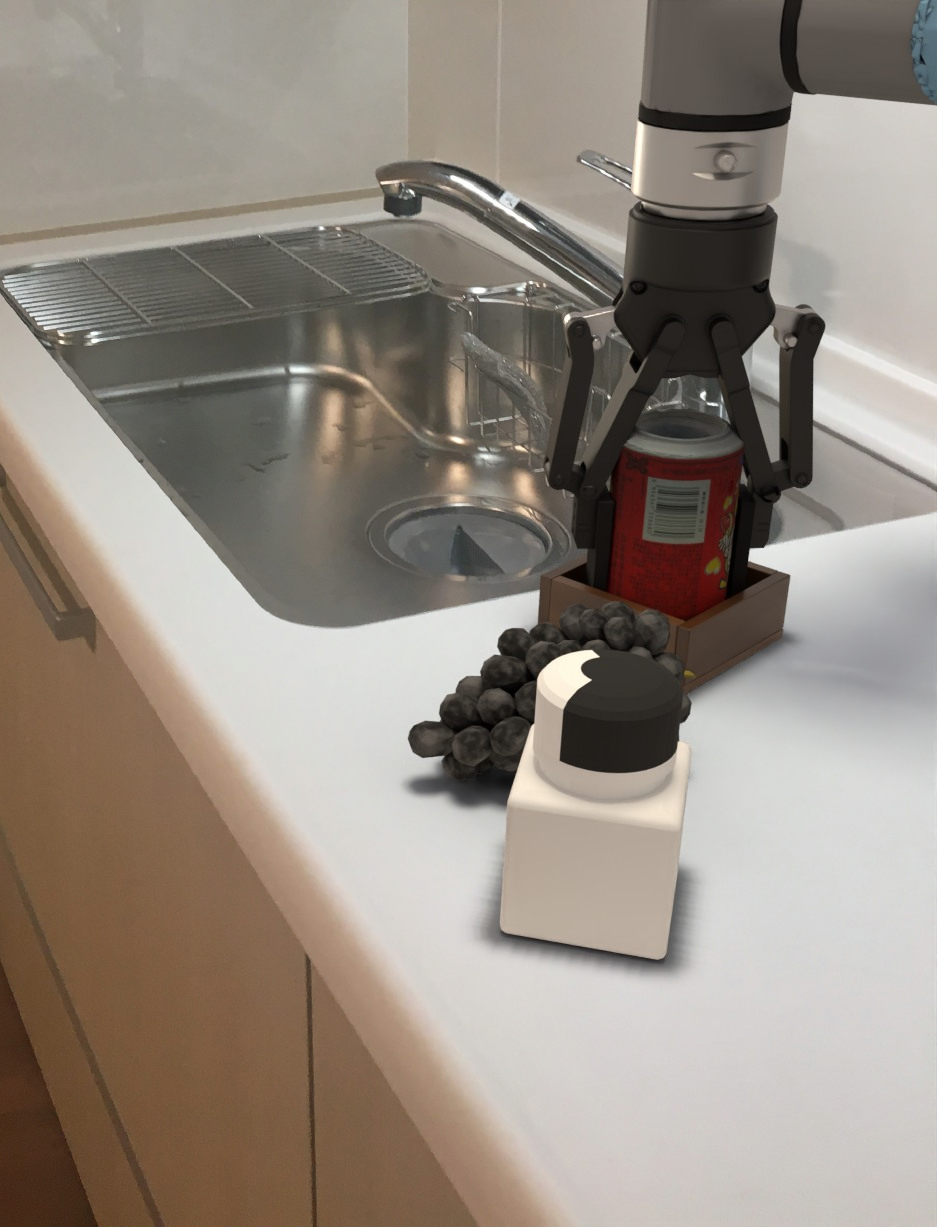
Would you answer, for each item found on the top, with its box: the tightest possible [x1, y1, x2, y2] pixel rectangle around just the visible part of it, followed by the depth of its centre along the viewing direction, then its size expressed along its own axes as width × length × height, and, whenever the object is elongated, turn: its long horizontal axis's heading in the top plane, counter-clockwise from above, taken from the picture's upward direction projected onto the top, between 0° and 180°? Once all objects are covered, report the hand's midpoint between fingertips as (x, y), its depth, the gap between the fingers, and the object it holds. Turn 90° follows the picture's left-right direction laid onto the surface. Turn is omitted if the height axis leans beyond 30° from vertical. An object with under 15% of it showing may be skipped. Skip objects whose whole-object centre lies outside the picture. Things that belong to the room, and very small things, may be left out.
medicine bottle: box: [499, 650, 693, 961], centre depth 74 cm, size 7×7×12 cm
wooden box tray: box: [537, 553, 791, 694], centre depth 98 cm, size 10×10×4 cm
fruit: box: [407, 601, 696, 784], centre depth 86 cm, size 9×8×15 cm
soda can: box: [606, 408, 744, 622], centre depth 96 cm, size 7×7×12 cm
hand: (662, 595), depth 98 cm, fingers closed on soda can, 7 cm apart
